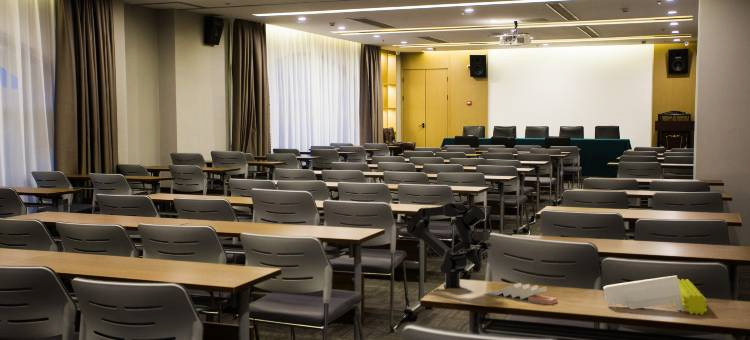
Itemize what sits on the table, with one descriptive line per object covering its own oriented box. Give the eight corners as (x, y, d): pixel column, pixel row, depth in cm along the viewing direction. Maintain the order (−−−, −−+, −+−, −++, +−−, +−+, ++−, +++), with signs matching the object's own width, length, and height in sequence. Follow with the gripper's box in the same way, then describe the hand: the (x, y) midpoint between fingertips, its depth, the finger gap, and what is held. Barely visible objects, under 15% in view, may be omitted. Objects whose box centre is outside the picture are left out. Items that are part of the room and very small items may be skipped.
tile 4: (519, 295, 280) (539, 288, 275) (526, 293, 284) (546, 286, 278) (520, 299, 280) (540, 292, 274) (527, 297, 284) (547, 290, 278)
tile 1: (494, 291, 288) (513, 284, 282) (502, 289, 291) (520, 282, 286) (496, 295, 287) (515, 288, 282) (503, 293, 291) (522, 286, 285)
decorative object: (692, 296, 291) (692, 278, 290) (708, 317, 258) (709, 296, 258) (671, 295, 292) (672, 277, 292) (685, 315, 260) (686, 295, 260)
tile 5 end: (528, 296, 278) (550, 300, 272) (535, 294, 282) (557, 298, 275) (528, 300, 278) (550, 304, 272) (535, 298, 282) (557, 302, 276)
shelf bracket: (685, 312, 263) (678, 277, 263) (610, 323, 269) (603, 288, 269) (682, 309, 268) (675, 274, 268) (609, 319, 274) (602, 285, 274)
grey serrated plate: (482, 295, 289) (482, 294, 289) (495, 292, 296) (495, 290, 296) (538, 305, 273) (538, 303, 273) (551, 301, 279) (551, 300, 279)
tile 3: (510, 294, 283) (530, 287, 277) (518, 292, 287) (537, 285, 281) (512, 298, 282) (531, 290, 277) (519, 296, 286) (538, 289, 280)
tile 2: (502, 292, 285) (521, 285, 280) (510, 290, 289) (529, 283, 283) (504, 296, 285) (523, 289, 279) (511, 294, 288) (530, 287, 283)
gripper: (465, 221, 286) (481, 259, 281) (494, 222, 300) (509, 258, 294) (444, 234, 293) (459, 272, 287) (473, 235, 306) (488, 270, 300)
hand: (480, 267), depth 292 cm, fingers closed
